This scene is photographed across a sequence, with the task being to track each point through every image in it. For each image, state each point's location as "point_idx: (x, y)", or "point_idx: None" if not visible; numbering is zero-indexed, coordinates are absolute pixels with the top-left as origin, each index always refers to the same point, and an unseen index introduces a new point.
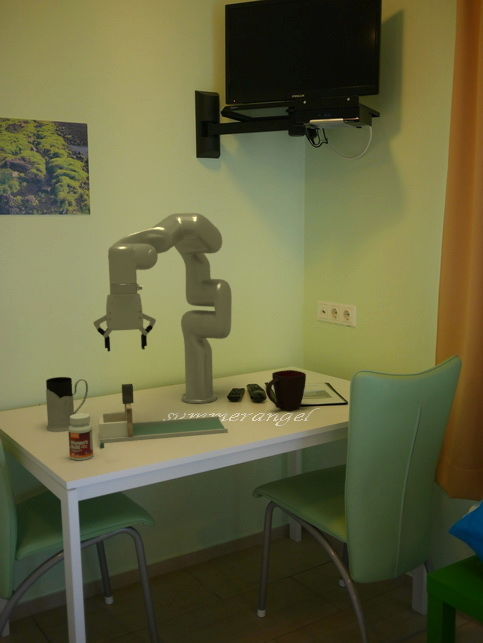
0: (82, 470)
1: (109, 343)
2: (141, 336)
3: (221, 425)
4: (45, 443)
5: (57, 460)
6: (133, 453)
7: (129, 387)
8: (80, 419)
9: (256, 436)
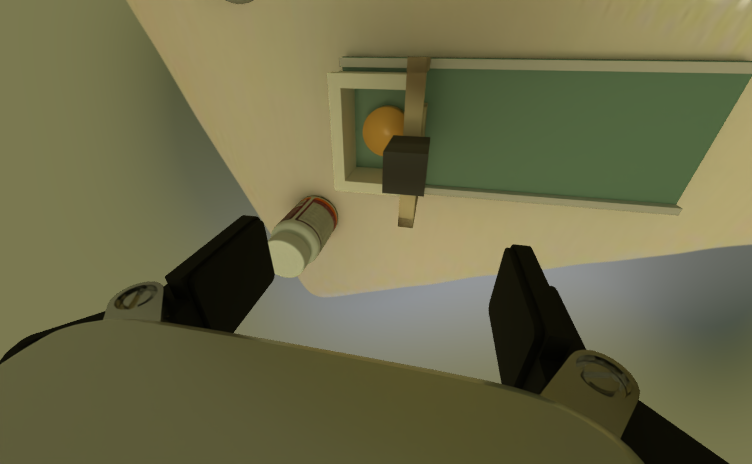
0: (326, 271)
1: (244, 313)
2: (512, 376)
3: (706, 144)
4: (230, 105)
5: (279, 217)
6: (412, 229)
7: (410, 193)
8: (288, 276)
9: (743, 221)
